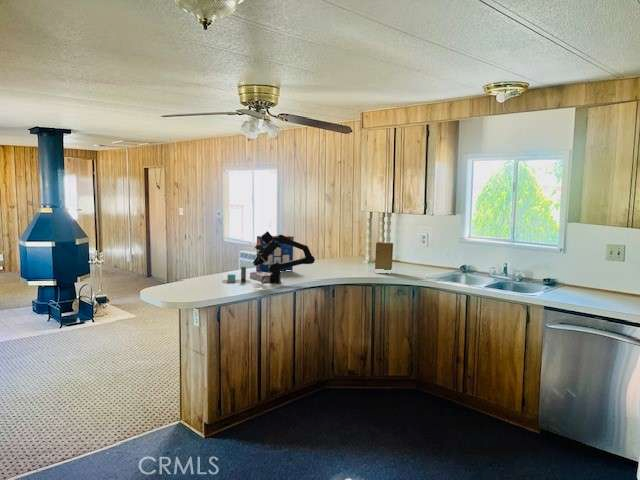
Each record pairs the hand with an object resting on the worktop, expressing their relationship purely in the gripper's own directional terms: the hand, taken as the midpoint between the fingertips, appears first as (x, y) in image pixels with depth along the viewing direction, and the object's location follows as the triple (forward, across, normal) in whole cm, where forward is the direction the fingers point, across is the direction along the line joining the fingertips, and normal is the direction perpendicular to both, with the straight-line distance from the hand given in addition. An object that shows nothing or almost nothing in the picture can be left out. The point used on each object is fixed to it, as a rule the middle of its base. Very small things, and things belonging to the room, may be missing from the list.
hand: (253, 264), depth 326 cm
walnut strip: (+17, 0, +1) cm, 17 cm away
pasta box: (-5, -50, +24) cm, 55 cm away
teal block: (+19, 0, -2) cm, 19 cm away
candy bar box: (+5, -18, +10) cm, 21 cm away
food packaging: (-68, -42, +86) cm, 118 cm away
